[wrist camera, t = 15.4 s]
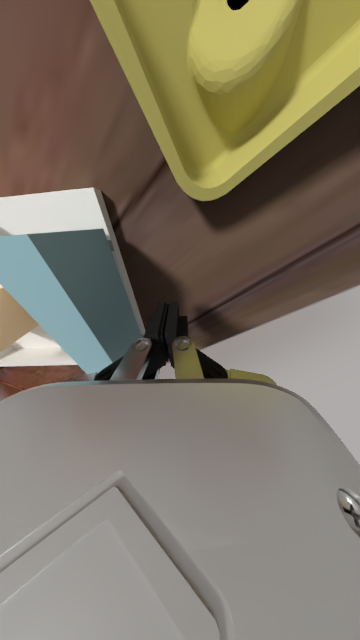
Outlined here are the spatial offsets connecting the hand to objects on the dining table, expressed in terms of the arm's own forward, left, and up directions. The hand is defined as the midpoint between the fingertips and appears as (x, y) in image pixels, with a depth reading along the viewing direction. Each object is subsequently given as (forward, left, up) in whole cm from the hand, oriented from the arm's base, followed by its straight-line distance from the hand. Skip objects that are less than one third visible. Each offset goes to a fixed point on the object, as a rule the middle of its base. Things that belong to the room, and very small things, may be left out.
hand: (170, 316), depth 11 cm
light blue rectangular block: (+6, 0, -3) cm, 7 cm away
